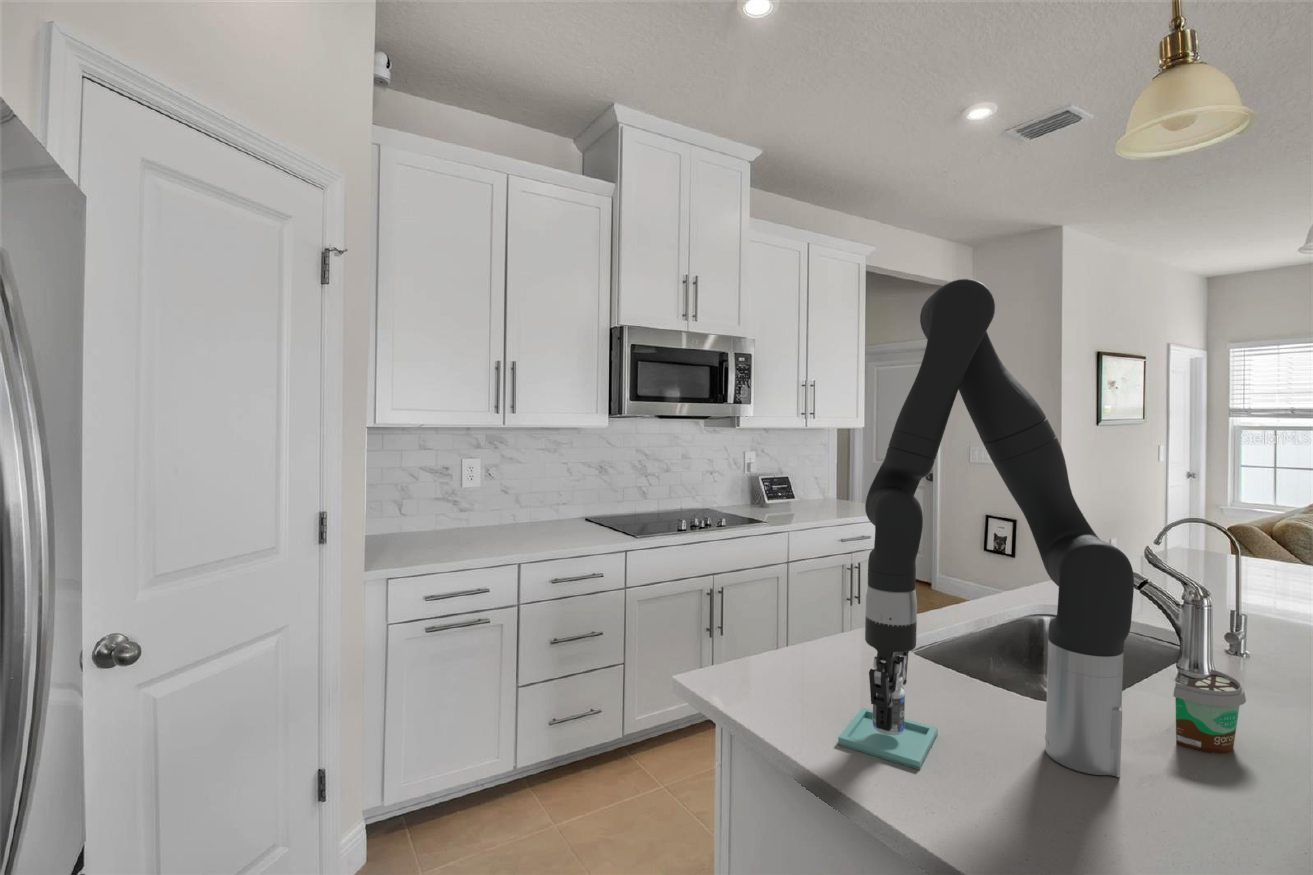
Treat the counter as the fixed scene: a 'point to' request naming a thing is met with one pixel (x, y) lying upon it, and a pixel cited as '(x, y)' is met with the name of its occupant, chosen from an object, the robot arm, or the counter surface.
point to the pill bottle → (894, 711)
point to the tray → (889, 740)
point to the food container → (1208, 713)
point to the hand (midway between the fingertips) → (888, 721)
